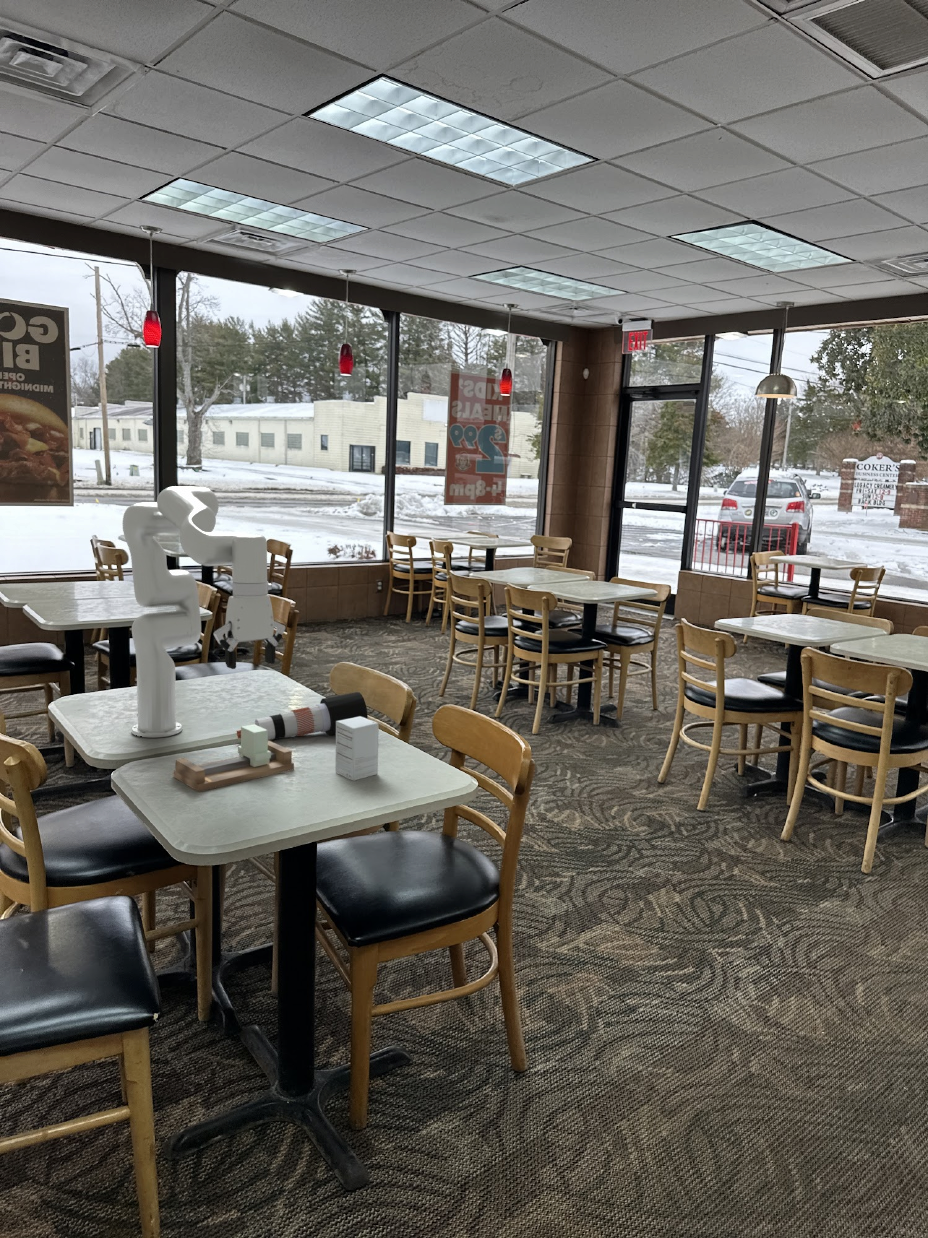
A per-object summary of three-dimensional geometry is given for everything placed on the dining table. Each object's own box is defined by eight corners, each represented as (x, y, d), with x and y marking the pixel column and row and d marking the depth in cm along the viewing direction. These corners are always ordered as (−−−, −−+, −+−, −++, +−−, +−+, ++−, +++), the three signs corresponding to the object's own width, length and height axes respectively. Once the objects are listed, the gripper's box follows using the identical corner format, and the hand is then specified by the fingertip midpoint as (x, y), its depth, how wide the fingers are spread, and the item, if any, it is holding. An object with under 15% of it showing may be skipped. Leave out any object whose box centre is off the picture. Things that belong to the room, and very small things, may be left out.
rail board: (173, 776, 194) (173, 758, 193) (266, 756, 211) (267, 739, 210) (198, 791, 186) (198, 772, 185) (293, 769, 202) (294, 752, 201)
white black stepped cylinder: (238, 757, 223) (230, 719, 225) (360, 731, 238) (351, 696, 240) (245, 750, 214) (236, 711, 217) (370, 724, 229) (361, 688, 231)
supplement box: (359, 766, 206) (361, 715, 204) (378, 775, 201) (379, 722, 199) (334, 772, 201) (335, 720, 199) (352, 781, 196) (353, 727, 194)
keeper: (237, 758, 203) (237, 725, 201) (253, 755, 205) (253, 723, 204) (255, 767, 197) (255, 734, 196) (270, 764, 200) (270, 731, 198)
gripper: (275, 586, 200) (275, 658, 202) (205, 590, 188) (207, 667, 191) (292, 589, 195) (293, 663, 197) (222, 594, 183) (223, 673, 185)
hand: (250, 665), depth 194 cm, fingers open, 9 cm apart
